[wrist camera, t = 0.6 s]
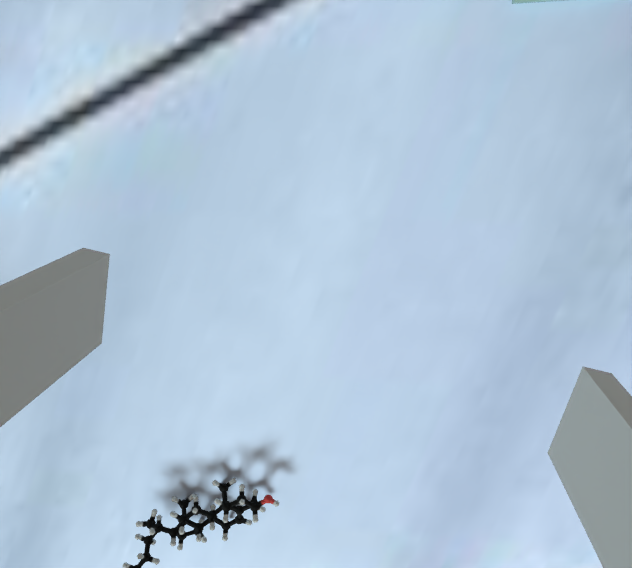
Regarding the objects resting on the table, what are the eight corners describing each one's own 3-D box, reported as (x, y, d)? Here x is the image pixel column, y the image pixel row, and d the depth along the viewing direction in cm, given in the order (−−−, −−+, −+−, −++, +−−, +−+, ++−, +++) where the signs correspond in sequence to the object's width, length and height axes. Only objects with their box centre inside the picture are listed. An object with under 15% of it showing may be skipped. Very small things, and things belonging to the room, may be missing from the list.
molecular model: (290, 499, 50) (272, 570, 42) (163, 557, 54) (124, 631, 46) (253, 445, 49) (227, 507, 41) (126, 508, 53) (79, 576, 45)
